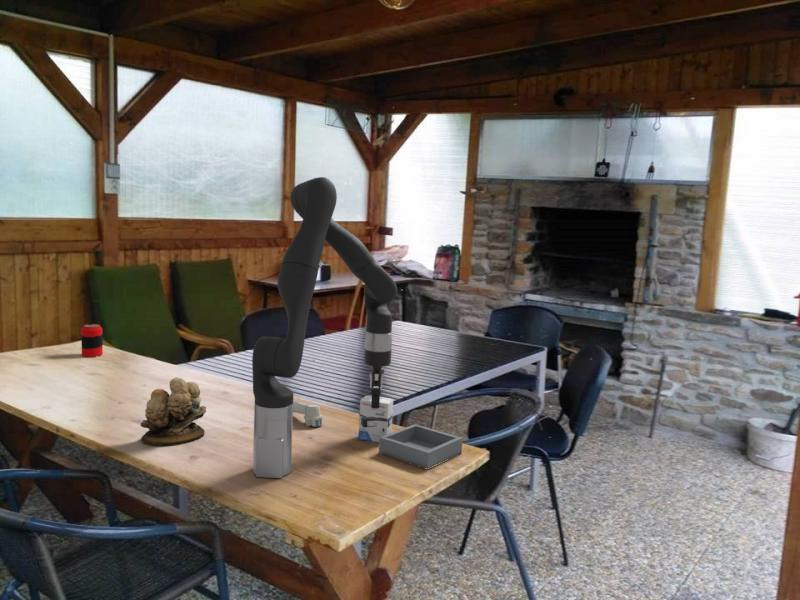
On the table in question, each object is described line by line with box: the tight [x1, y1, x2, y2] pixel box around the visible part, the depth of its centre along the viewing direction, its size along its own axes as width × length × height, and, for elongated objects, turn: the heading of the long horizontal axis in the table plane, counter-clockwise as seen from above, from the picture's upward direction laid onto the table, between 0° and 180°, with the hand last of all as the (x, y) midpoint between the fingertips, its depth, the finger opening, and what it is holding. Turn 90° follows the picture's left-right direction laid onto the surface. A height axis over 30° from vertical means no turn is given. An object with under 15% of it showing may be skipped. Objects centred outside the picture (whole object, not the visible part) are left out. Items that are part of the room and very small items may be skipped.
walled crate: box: [378, 424, 463, 470], centre depth 189 cm, size 16×16×4 cm
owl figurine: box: [140, 377, 207, 447], centre depth 190 cm, size 18×12×17 cm, turn 133°
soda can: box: [80, 323, 104, 358], centre depth 276 cm, size 8×8×12 cm
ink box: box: [357, 394, 394, 443], centre depth 198 cm, size 8×5×12 cm, turn 73°
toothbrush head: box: [293, 399, 324, 428], centre depth 215 cm, size 5×7×25 cm
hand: (375, 403), depth 198 cm, fingers open, 8 cm apart
